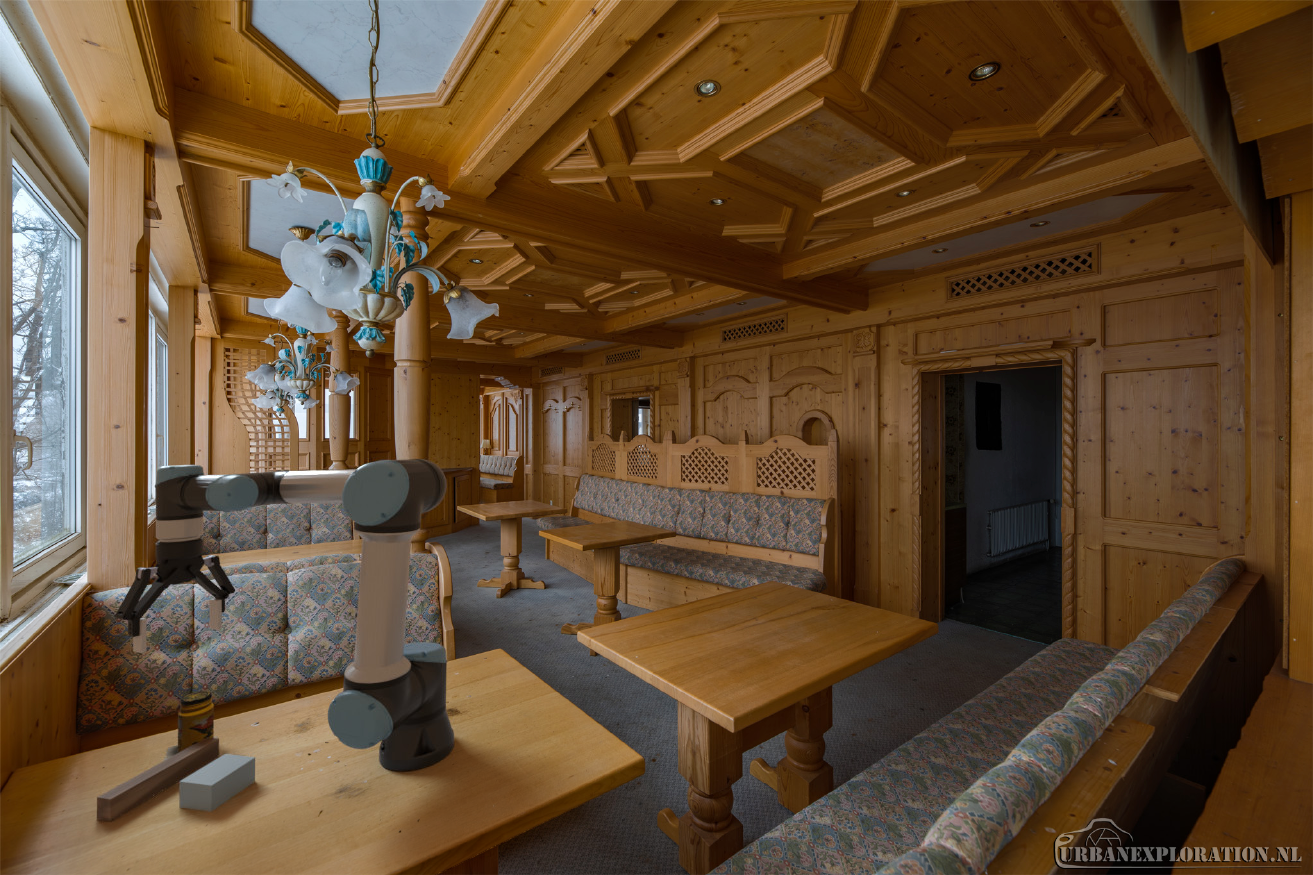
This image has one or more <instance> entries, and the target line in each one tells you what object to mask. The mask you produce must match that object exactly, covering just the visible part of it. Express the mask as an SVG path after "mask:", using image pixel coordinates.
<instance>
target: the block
mask: <svg viewBox="0 0 1313 875" xmlns="http://www.w3.org/2000/svg"><path fill="white" fill-rule="evenodd" d="M255 781H256V756H255V757H254V756H248V755H239V754H232V753H231V754H230V753H225V754H223V755H221V756H219V757H218V758H217V759H215V760H213V761H212V762H210V763H208V764H207V765H205V766H203V767H202V768H200V769H198V770H197V771H195V772H193V773H191V774H190V775H188V776H186V777H185V778H183V779H181V780H180V781H179V795H178V796H179V798H178V799H179V804H178V805H179V808H182V809H183V808H184V809H188V810H189V809H190V810H197V811H204V812H211V813H212V812H213V811H215V810H216V809H217V808H219V807H220V806H222V805H223V804H225V803H226V802H228V801H229V800H230V799H232V798H233V797H234V796H236V795H238V794H239V793H240V792H242V791H243V790H244V789H246V788H247V787H249V786H251V785H252V784H254V783H255Z"/></svg>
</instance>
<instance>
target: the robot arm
mask: <svg viewBox="0 0 1313 875" xmlns="http://www.w3.org/2000/svg"><path fill="white" fill-rule="evenodd" d="M447 483H448V482H447V478H446V476H445V473H444V472H443V470H442V469H441V468H440V467H439V466H438V465H437V464H436V463H435V462H433V461H430V460H427V459H422V458H410V459H380V460H375V461H373V462H369V463H365V464H363V465H361V466H358V468H352V469H321V470H320V469H316V470H288V469H287V470H285V469H284V470H283V469H282V470H275V471H274V470H273V471H263V472H245V473H231V474H209V475H208V474H205V472H204V468H203V466H202V465H199V464H181V465H176V464H175V465H173V464H172V465H162V466H159V467H158V469H157V470H156V479H155V484H154V488H155V538H156V539H157V540H158V541H157V542H155V560H156V563H155V566H154V567H138V568H137V569H136V570H135V577H134V581H133V582H132V584H131V586H130V588H129V589H128V591H127V593H126V595H125V596H124V598H123V600H122V603H121V604H120V606H119V608H118V609H117V611H116V613H115V614H114V618H115V619H118V620H123V621H127V635H128V637H131V638H133V639H132V642H133V644H132V645H133V646H132V647H133V649H132V651H133V652H135V653H140V654H143V653H147V618H144V615H145V614H146V613H147V612H148V611H149V610H150V608H151V607H152V606H153V604H154V603H155V602H156V601H157V600H158V598H159V597H160V596H161V595H162V593H163V592H164V591H165V590H166V589H169V587H170V586H171V585H173V586H176V585H179V584H182V583H189V582H192V581H194V582H195V583H196V584H197V585H199V586H200V587H201V588H202V589H203V590H205V591H206V592H207V593H209V594H210V595H211V596H212V597H213V598H211V599H209V629H210V630H215V631H220V630H222V628H223V626H222V618H223V617H222V614H223V613H225V611H226V599H228V598H229V597H230V595H231V594H234V593H235V592H236V587H234V585H233V583H232V582H231V581H230V579H229V577H228V576H227V573H226V572H225V570H224V569H223V567H222V565H221V560H220V556H219V555H214V554H213V555H211V554H209V555H206V556H205V557H203V554H204V538H203V537H200V536H203V535H204V512H208V511H209V512H223V513H231V512H233V513H234V512H242V511H243V512H244V511H246V510H248V509H249V508H254V507H255V508H256V507H260V506H261V507H262V506H272V505H289V504H290V505H292V504H342V506H343V509H344V511H345V512H346V513H347V516H348V518H349V519H350V520H352V521H353V522H354V523H353V524H354V526H353V531H354V532H355V533H356V534H357V535H358V536H359V537H360V538H361V540H362V541H361V556H360V567H359V568H360V569H359V570H360V571H359V586H358V587H359V588H358V602H357V615H356V633H355V645H354V647H355V648H354V660H353V662H351V663H350V664H349V665H348V666H347V667H346V668H345V671H344V672H343V673H344V675H343V686H342V687H343V689H342V691H341V692H339V693H338V694H337V695H336V696H335V697H334V698H333V699H332V701H331V703H330V704H329V707H328V710H327V722H328V726H329V729H330V731H331V733H332V734H333V735H334V736H335V737H337V739H338V741H339V742H341V744H342V745H345V746H346V747H349V748H352V749H355V750H367V749H370V748H372V747H374V746H376V745H377V744H379V743H380V745H379V751H378V761H379V764H380V765H381V766H382V767H383V768H384V769H387V770H390V771H395V772H397V771H398V772H406V771H414V770H420V769H423V768H427V767H429V766H431V765H434V764H436V763H438V762H440V761H441V760H443V759H445V758H446V757H447V756H448V755H450V753H451V752H452V750H453V749H454V747H455V746H454V745H455V733H454V729H453V727H452V724H451V721H450V719H449V716H448V712H447V670H448V667H447V664H448V660H447V649H446V648H445V647H444V646H443V644H440V643H437V642H429V641H427V642H426V641H423V642H422V641H421V642H418V641H417V642H411V643H410V642H408V643H405V638H406V625H407V624H406V623H407V622H406V620H407V607H408V593H409V592H408V590H409V579H410V578H409V576H410V562H411V546H412V538H413V537H414V536H415V535H416V534H417V533H418V532H419V531H420V530H421V522H422V514H424V513H427V512H430V511H431V510H433V509H434V508H436V507H438V506H439V505H440V504H441V502H442V501H443V500H444V497H445V495H446V493H447ZM204 566H205V567H207V569H208V571H209V572H210V574H211V575H212V577H213V578H214V580H215V582H216V584H217V585H216V584H215V583H214V581H212V580H210V579H209V578H208V577H207V575H206V574H205V573H204V572H202V571H201V570H202V568H203V567H204ZM154 574H155V575H156V576H157V577H156V578H155V579H154V580H153V582H152V583H151V586H150V587H149V589H148V590H146V588H147V586H148V584H149V583H150V581H151V579H152V578H153V577H154ZM145 590H146V592H145ZM144 592H145V593H144ZM143 594H144V595H143Z"/></svg>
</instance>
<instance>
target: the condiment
mask: <svg viewBox="0 0 1313 875" xmlns="http://www.w3.org/2000/svg"><path fill="white" fill-rule="evenodd" d="M212 696H213V695H212V692H211V691H209V690H201V691H195V692H191V693H188V694H186V695H185V696H183V697H182V698H181V700H180V707H179V709H180V710H179V711H178V713H177V745H172V746H169V747H168V748H167V751H166V753H165V756H167V757H165V756H164V758H163V760H162V762H163V761H165V760H166V759H168V758H170V757H172V756H174V755H176V754H177V753H179V752H181V751H183V750H185V749H187V748H189V747H190V746H192V745H194V744H196V743H198V742H200V741H201V740H203V739H205V738H207V737H210V738H218V736H215V735H214V734H215V733H214V731H215V730H214V726H215V725H214V723H215V722H214V721H215V720H214V718H215V714H214V712H215V705H214V703H213V699H212Z"/></svg>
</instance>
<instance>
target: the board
mask: <svg viewBox="0 0 1313 875" xmlns="http://www.w3.org/2000/svg"><path fill="white" fill-rule="evenodd" d="M219 757H220V738H218V737H217V738H210V737H207V738H205V739H203V740H201V741H200V742H198V743H196V744H194V745H192V746H190V747H189V748H187V749H185V750H183V751H181V752H179V753H177V754H176V755H174V756H172V757H170V758H168V759H166V760H165V761H163V760H162V761H161V762H159V763H157V764H156V765H154V766H152V767H150V768H148V769H147V770H144V771H142V772H141V773H139V774H137V775H135V776H133V777H132V778H130V779H128V780H126V781H124V782H122V783H120V784H119V785H117V786H115V787H113V788H111V789H110V790H108V791H105V792H104V793H102V794H100V795H99V796H97V797H96V820H98V821H104V822H110V823H111V822H112V821H114V820H116V819H117V818H119V817H120V816H123V814H126V813H127V812H129V811H131V810H132V809H134V808H136V807H137V806H139V805H141V804H143V803H144V802H146V801H147V799H148V800H149V799H151V798H153V797H154V796H156V795H158V794H159V793H161V792H163V791H164V790H166V789H168V788H169V787H171V786H172V785H175V784H176V783H178V782H180V781H181V780H183V779H184V778H186V777H188V776H189V775H191V774H193V773H194V772H196V771H198V770H199V769H201V768H203V767H204V766H206V765H208V764H209V763H211V762H213V761H214V760H216V759H218V758H219ZM165 788H166V789H165ZM162 790H163V791H162ZM153 795H154V796H153Z"/></svg>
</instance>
